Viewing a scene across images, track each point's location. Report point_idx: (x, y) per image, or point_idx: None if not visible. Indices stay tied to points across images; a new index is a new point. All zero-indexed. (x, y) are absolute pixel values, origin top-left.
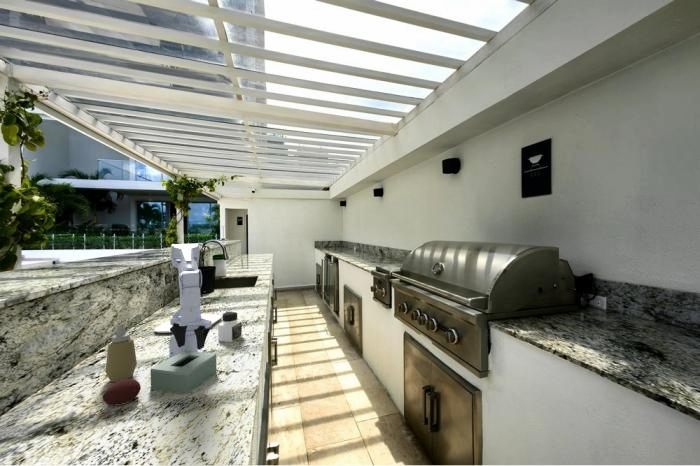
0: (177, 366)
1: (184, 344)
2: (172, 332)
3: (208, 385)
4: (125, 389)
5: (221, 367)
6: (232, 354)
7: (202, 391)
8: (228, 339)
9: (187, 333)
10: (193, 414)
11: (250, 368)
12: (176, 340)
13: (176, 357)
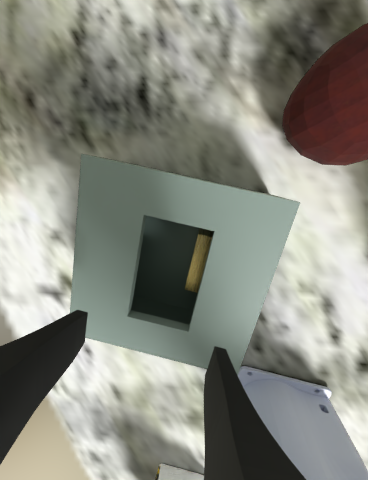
0: None
1: (205, 376)
2: (290, 468)
3: None
4: (333, 54)
5: None
6: (117, 391)
7: None
8: (172, 477)
9: None
10: (28, 44)
11: (14, 305)
12: (238, 385)
13: (231, 311)
